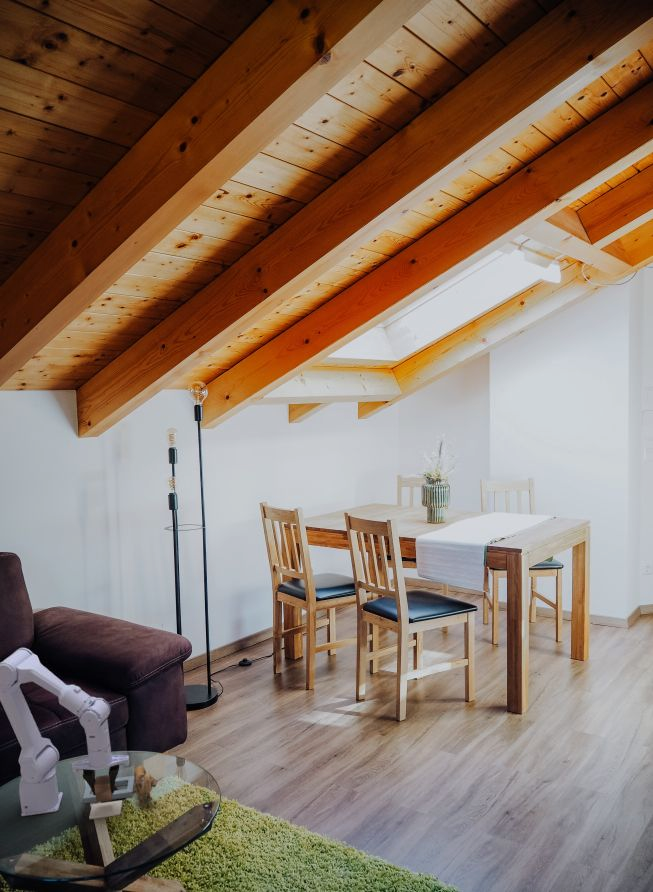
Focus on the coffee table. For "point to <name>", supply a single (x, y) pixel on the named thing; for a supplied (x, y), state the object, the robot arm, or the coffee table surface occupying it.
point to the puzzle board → (117, 794)
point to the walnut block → (103, 788)
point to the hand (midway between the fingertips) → (104, 791)
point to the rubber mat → (105, 809)
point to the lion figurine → (143, 783)
